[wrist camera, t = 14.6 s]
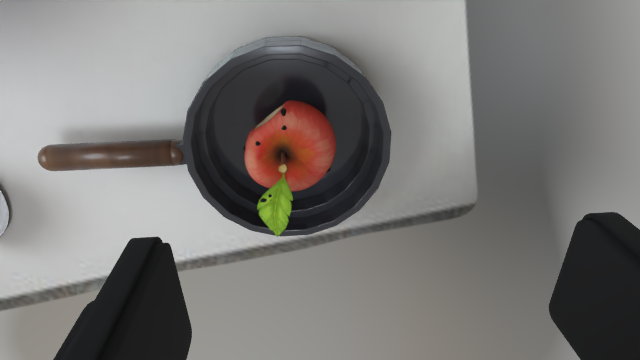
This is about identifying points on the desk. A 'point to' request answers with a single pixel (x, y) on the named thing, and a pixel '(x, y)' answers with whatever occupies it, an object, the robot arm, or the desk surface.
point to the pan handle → (112, 155)
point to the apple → (288, 157)
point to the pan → (264, 98)
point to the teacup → (3, 214)
